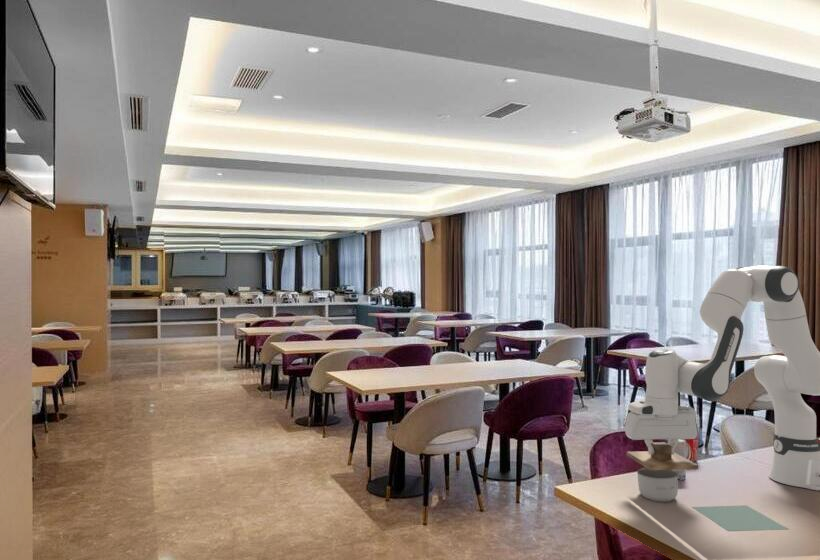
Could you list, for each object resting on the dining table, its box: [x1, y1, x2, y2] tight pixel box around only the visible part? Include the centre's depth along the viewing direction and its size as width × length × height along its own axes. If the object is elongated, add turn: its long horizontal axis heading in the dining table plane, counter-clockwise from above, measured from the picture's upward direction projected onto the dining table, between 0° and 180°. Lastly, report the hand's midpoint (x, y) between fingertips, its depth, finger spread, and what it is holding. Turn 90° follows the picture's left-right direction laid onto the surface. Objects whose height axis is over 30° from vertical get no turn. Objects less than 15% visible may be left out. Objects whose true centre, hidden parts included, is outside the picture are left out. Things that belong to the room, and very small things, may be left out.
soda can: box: [684, 430, 699, 463], centre depth 211 cm, size 7×7×12 cm
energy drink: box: [667, 439, 687, 480], centre depth 192 cm, size 5×5×12 cm
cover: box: [626, 441, 699, 471], centre depth 172 cm, size 14×14×5 cm
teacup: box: [636, 467, 679, 503], centre depth 172 cm, size 14×11×8 cm
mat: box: [691, 504, 789, 532], centre depth 156 cm, size 16×16×1 cm
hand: (661, 454), depth 172 cm, fingers closed on cover, 4 cm apart
